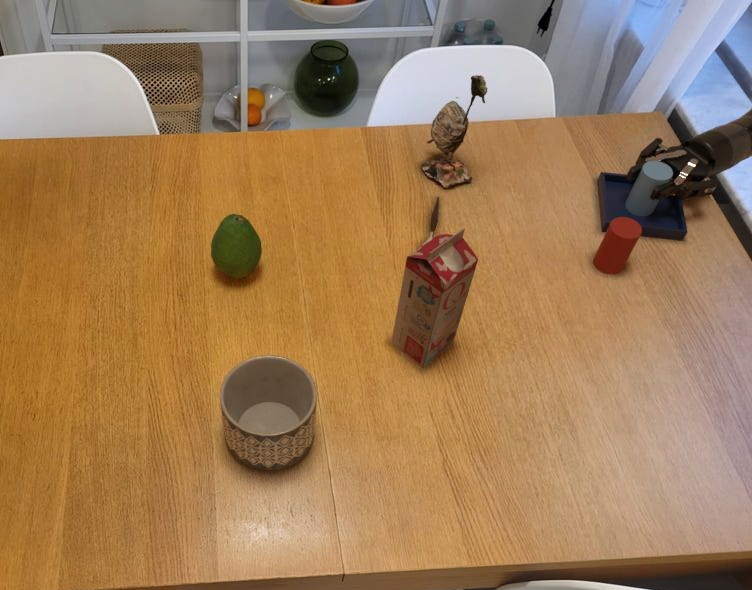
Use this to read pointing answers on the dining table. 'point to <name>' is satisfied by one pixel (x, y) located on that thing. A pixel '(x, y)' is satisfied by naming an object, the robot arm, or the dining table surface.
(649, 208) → the blue pin
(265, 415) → the planter
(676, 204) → the blue tray
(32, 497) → the dining table surface
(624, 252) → the red cylinder
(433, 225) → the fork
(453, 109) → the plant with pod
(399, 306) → the juice carton
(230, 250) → the fruit
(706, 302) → the dining table surface
